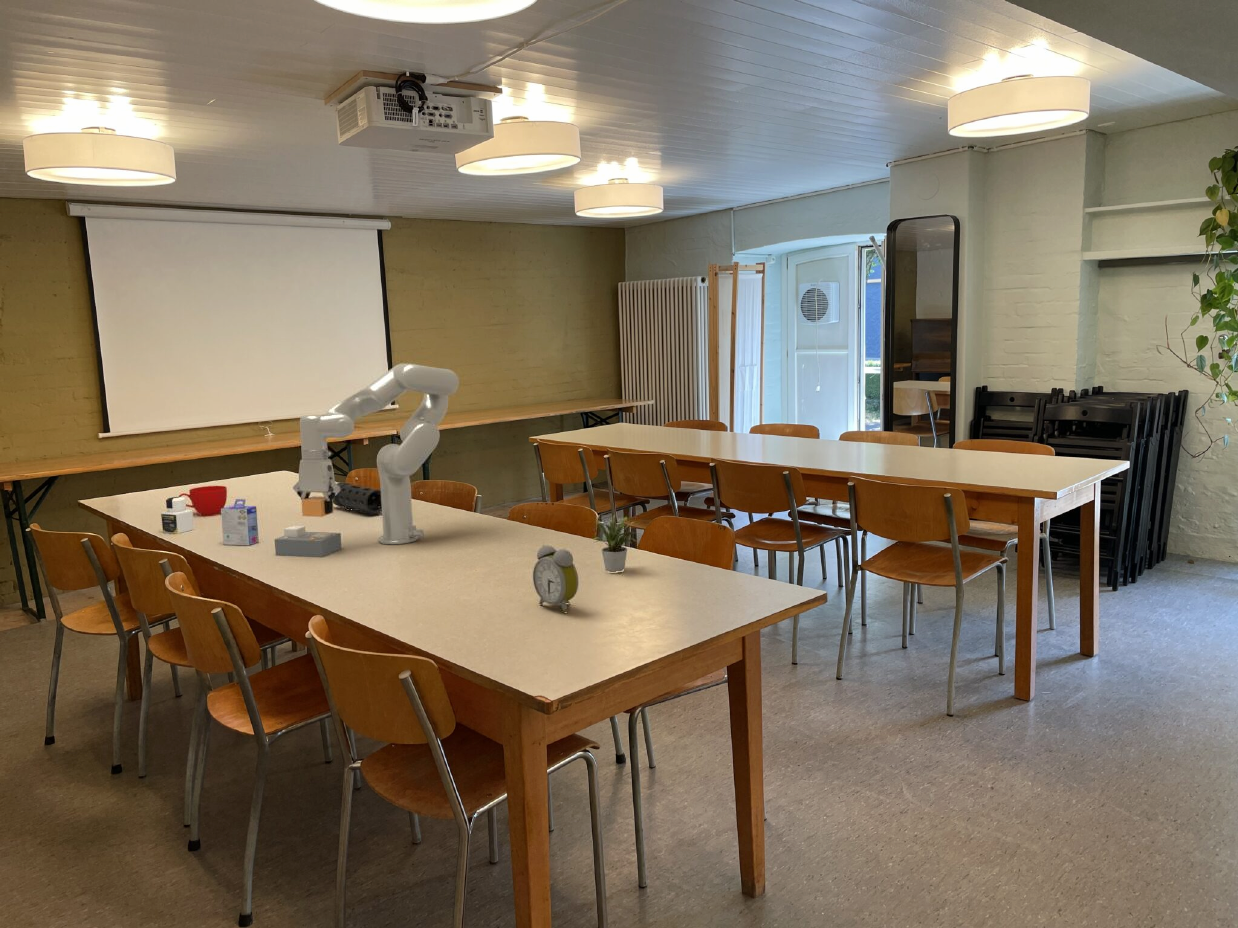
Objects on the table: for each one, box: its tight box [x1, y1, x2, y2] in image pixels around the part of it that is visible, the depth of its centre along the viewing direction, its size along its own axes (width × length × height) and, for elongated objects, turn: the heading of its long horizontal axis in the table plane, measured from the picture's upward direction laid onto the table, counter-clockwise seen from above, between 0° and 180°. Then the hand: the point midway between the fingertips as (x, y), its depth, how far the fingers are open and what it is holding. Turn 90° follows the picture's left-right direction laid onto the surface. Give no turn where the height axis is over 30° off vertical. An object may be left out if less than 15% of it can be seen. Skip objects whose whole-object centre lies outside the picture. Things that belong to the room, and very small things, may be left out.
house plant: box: [587, 513, 637, 572], centre depth 239 cm, size 14×14×16 cm
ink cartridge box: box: [220, 498, 260, 546], centre depth 281 cm, size 10×6×14 cm, turn 78°
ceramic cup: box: [178, 485, 228, 517], centre depth 331 cm, size 13×17×10 cm
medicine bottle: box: [160, 496, 195, 535], centre depth 302 cm, size 7×7×12 cm
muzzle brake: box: [331, 481, 382, 517], centre depth 331 cm, size 10×28×10 cm, turn 47°
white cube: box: [283, 525, 306, 538], centre depth 270 cm, size 4×4×4 cm
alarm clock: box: [532, 544, 579, 613], centre depth 208 cm, size 12×7×15 cm, turn 45°
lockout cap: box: [301, 495, 335, 518], centre depth 266 cm, size 7×7×5 cm
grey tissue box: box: [274, 531, 342, 558], centre depth 269 cm, size 16×11×6 cm
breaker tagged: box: [310, 532, 331, 539], centre depth 268 cm, size 4×4×4 cm
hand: (318, 512), depth 267 cm, fingers closed on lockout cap, 6 cm apart
